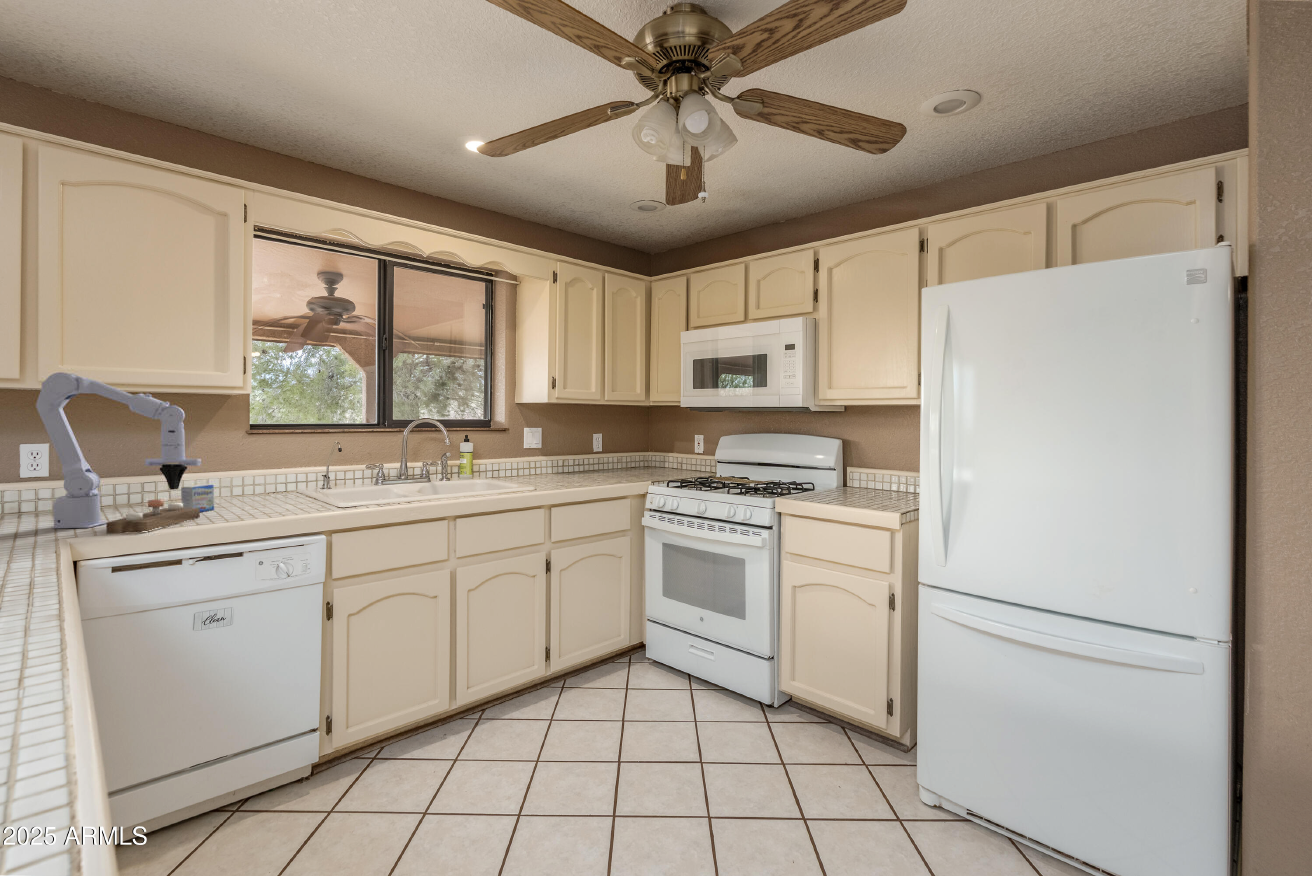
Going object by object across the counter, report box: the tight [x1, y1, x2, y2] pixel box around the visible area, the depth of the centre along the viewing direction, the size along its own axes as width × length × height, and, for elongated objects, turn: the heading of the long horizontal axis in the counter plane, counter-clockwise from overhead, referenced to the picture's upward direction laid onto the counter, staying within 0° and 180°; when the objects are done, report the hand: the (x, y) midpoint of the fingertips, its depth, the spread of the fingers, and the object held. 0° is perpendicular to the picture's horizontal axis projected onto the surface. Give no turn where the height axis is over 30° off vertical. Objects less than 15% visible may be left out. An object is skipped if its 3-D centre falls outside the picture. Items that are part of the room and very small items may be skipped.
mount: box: [105, 507, 201, 534], centre depth 178 cm, size 10×24×3 cm, turn 8°
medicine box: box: [180, 483, 215, 513], centre depth 202 cm, size 8×4×9 cm, turn 168°
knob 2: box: [167, 502, 183, 511], centre depth 187 cm, size 4×4×4 cm
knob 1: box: [125, 512, 143, 521], centre depth 169 cm, size 4×4×4 cm
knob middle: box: [147, 498, 165, 515], centre depth 178 cm, size 4×4×4 cm
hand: (174, 489), depth 187 cm, fingers closed
